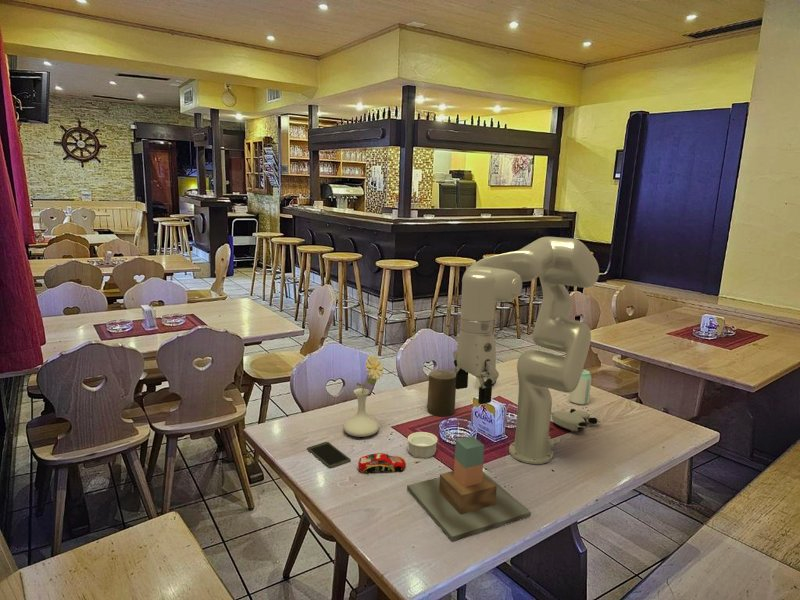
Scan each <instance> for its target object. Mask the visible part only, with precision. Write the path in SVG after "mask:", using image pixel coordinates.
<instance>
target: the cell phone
mask: <svg viewBox="0 0 800 600" xmlns="http://www.w3.org/2000/svg"><path fill="white" fill-rule="evenodd" d="M307 450H308V451H307ZM306 451H307V452H309V454H311V453H312V454H313V455H314V456H313V455H312V454H311V455H312V456H313V457H315V458H316V459H317V458H318V459H319V460H318V459H317V460H318V461H319V462H320V461H321V462H320V463H322V464H323V465H324V466H325V467H326V468H327V469H335V468H337V467H340V466H343V465H346V464H348V463H350V462H352V460H351V458H350V457H348V456H347V455H346V454H345V453H343V452H342V451H341V450H340V449H339V448H337V447H336V446H334V444H332V443H331V442H329V441H324V442H320V443H318V444H313V445H311V446H308V447H306Z"/></svg>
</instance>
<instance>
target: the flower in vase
mask: <svg viewBox="0 0 800 600" xmlns="http://www.w3.org/2000/svg"><path fill="white" fill-rule="evenodd" d="M365 369H366V374H367V376H366V379H365V382H364V384H361V383H360V382H357V383H356V386H358V387H360V388H356V389H354V390H353V393H354V394H355V396H356V398H357V411H356V413H355V415H353V416H351V417H350V418H348V419H347V420H346V421H345V422H344V425H343V427H342V428H343V430H344V431H345V433H346V434H348V435H349V436H353V437H361V438H362V437H369V436H373V435H375V434H376V433H378V431H379V429H380V425H379V422H378V421H377V420H375V418H374V417H372V416H370V415H369V414H368V413H367V412H366V401H367V397H368V395H369V394H370V392H371V391H370V389H367V388H366V385H367V383H368V384H369V385H371V386H373V385H374V384H376V383H377V381H378V380H380V379H381V377H383V374H384V371H383V370H384V367H383V363H382V362H381V360H380V359H379V358H378V357H377V356H376V355H374V354H373V355H370V354H369V355H368V356H367V359H365ZM361 387H362V388H361Z"/></svg>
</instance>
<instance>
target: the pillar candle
mask: <svg viewBox="0 0 800 600" xmlns="http://www.w3.org/2000/svg"><path fill="white" fill-rule="evenodd" d="M455 385H456V372H455V371H451V370H444V369H437V370H430V371H429V373H428V387H427V405H426V406H427V407H426V410H427V412H428V413H429V414H430V415H433V416H436V417H450V416H452V415H454V414H455V412H456V409H455V408H456V392H457V389H456V388H455Z"/></svg>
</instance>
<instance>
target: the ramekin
mask: <svg viewBox="0 0 800 600" xmlns="http://www.w3.org/2000/svg"><path fill="white" fill-rule="evenodd" d="M438 441H439V439H438V437H437V436H436V435H435V434H434V433H430V432H426V431H416V432H413V433H411V434H409V435H408V436H407V443H408V452H409V454H410V455H411V456H413V457H415V458H418V459H427V458H432V457H433V456H434V455H435V454H436V450H437V443H438Z"/></svg>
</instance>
